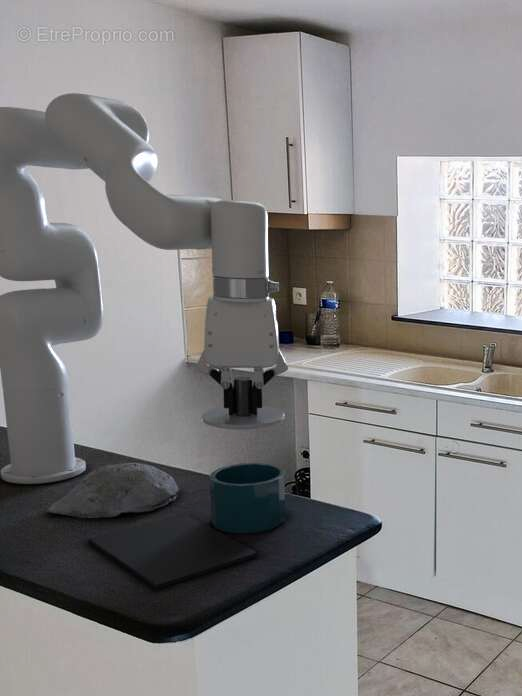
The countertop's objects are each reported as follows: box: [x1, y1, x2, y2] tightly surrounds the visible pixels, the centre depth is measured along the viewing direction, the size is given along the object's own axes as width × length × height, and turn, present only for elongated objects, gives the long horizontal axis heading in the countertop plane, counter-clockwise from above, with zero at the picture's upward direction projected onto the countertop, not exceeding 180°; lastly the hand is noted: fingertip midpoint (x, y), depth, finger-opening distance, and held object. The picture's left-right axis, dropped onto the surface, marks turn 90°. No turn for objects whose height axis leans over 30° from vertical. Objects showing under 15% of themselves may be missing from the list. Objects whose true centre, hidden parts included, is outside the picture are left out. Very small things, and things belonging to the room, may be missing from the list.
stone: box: [46, 462, 181, 519], centre depth 127 cm, size 18×8×15 cm
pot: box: [209, 462, 287, 534], centre depth 121 cm, size 11×11×8 cm
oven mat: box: [88, 513, 258, 590], centre depth 111 cm, size 20×14×1 cm
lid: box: [201, 376, 285, 430], centre depth 118 cm, size 12×12×7 cm
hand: (243, 411), depth 119 cm, fingers closed on lid, 2 cm apart
